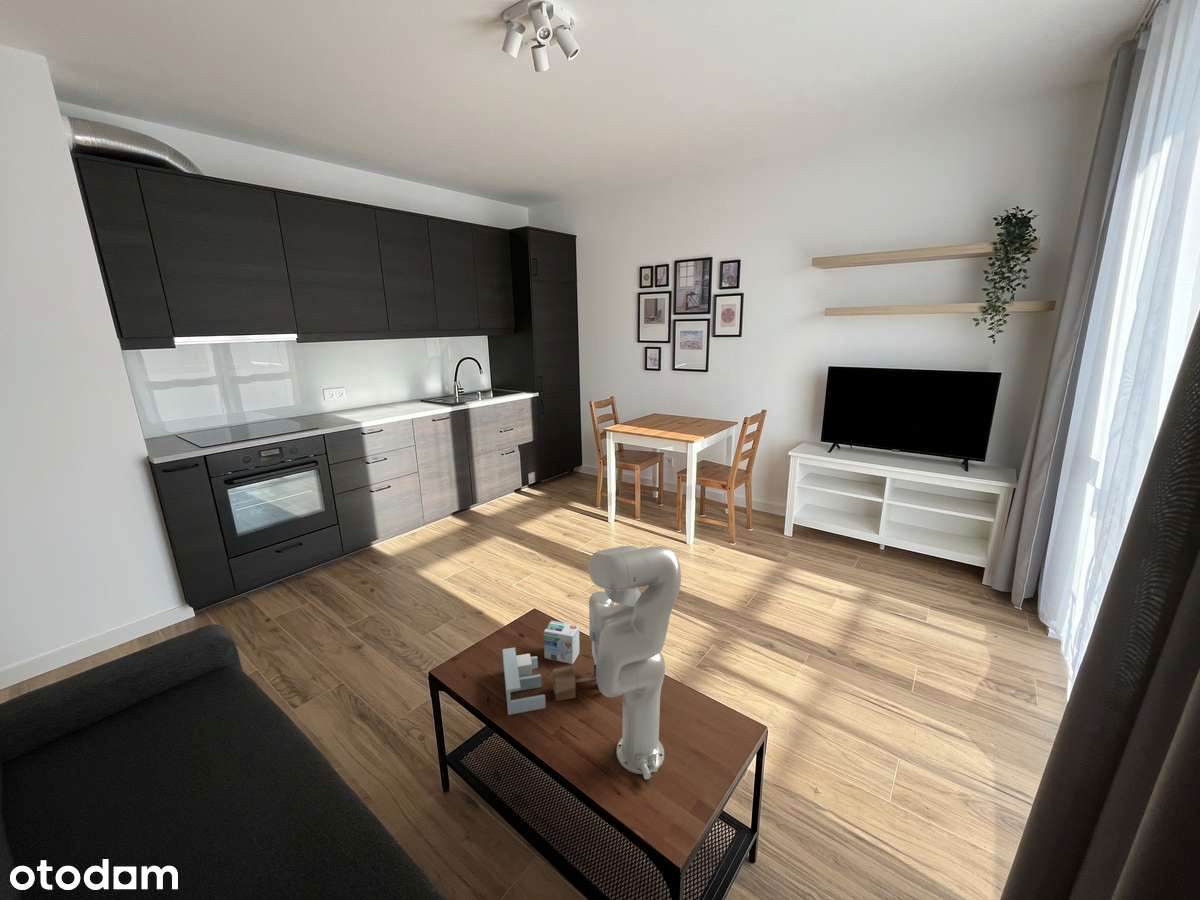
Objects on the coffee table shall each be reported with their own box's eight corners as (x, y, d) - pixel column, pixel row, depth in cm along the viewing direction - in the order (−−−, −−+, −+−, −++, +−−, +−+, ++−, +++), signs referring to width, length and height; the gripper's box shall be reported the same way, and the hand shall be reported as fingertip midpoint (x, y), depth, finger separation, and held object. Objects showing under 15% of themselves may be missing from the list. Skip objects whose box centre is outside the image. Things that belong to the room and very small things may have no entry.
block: (532, 683, 158) (531, 664, 156) (513, 686, 157) (512, 667, 155) (530, 671, 163) (529, 653, 161) (512, 675, 162) (511, 656, 160)
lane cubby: (545, 707, 148) (544, 683, 146) (508, 715, 145) (506, 690, 143) (537, 666, 166) (536, 643, 163) (503, 672, 163) (502, 649, 161)
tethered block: (608, 691, 154) (607, 671, 153) (556, 701, 150) (555, 681, 149) (603, 679, 159) (603, 660, 158) (553, 688, 156) (552, 669, 154)
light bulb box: (544, 658, 169) (543, 631, 167) (551, 646, 176) (550, 619, 173) (573, 664, 166) (572, 636, 164) (580, 652, 173) (579, 625, 170)
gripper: (621, 647, 145) (621, 699, 149) (606, 614, 161) (606, 662, 165) (596, 651, 143) (596, 704, 147) (583, 618, 159) (584, 666, 163)
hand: (601, 681), depth 156 cm, fingers open, 5 cm apart
